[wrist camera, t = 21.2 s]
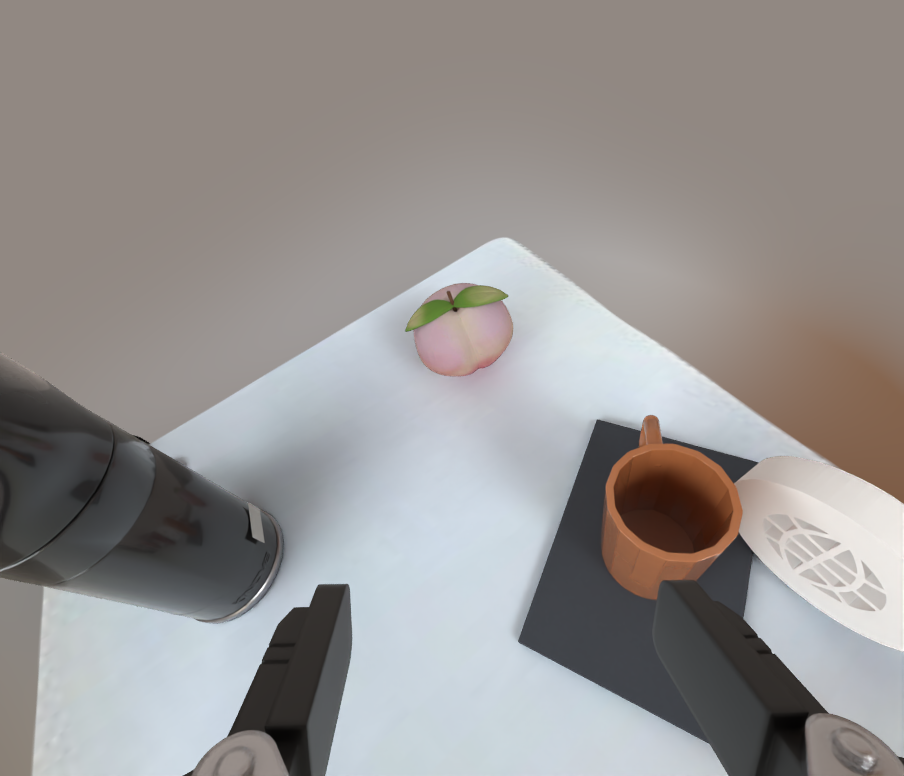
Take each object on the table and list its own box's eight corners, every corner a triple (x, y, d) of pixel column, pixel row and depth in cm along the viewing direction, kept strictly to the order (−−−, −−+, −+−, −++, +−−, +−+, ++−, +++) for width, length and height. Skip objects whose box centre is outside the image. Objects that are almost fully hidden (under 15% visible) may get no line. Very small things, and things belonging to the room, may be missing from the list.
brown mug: (708, 604, 27) (757, 566, 20) (604, 595, 29) (611, 557, 21) (682, 470, 33) (713, 396, 25) (595, 469, 34) (598, 400, 26)
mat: (518, 642, 29) (518, 641, 29) (597, 422, 37) (597, 419, 37) (721, 750, 24) (724, 751, 24) (763, 467, 32) (765, 464, 31)
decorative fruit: (497, 318, 47) (479, 241, 39) (531, 370, 42) (518, 294, 34) (417, 354, 47) (383, 284, 39) (442, 411, 42) (409, 344, 34)
